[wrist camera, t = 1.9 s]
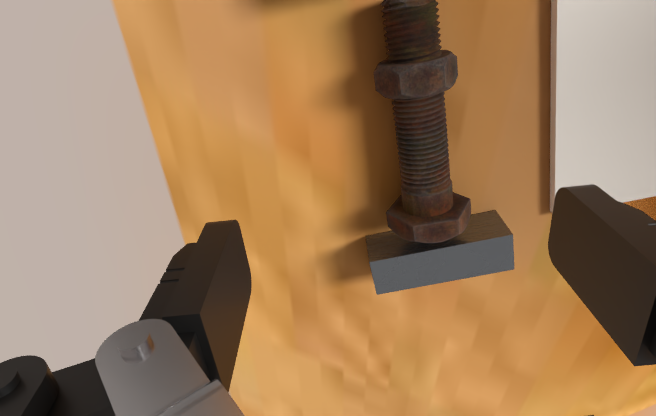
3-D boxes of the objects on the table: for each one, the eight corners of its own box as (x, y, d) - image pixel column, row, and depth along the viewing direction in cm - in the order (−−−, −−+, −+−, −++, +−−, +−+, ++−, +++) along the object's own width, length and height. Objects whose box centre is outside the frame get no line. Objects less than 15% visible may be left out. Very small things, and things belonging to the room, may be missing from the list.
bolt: (410, -11, 28) (429, 200, 34) (343, 4, 26) (376, 224, 32) (481, -22, 23) (487, 225, 30) (405, -5, 21) (430, 254, 28)
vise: (465, -281, 21) (489, -325, 18) (497, 242, 34) (514, 269, 31) (262, -216, 22) (251, -247, 19) (372, 266, 36) (376, 294, 32)
